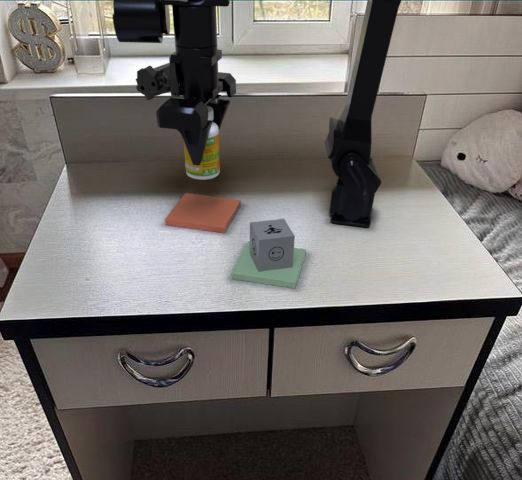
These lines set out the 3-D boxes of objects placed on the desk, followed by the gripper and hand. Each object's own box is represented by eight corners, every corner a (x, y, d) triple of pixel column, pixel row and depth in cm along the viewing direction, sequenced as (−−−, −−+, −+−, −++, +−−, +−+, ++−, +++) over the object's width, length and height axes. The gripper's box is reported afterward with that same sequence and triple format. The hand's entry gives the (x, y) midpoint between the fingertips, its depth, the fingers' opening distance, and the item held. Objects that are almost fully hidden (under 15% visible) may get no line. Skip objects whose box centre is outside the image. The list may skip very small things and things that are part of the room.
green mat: (305, 255, 79) (306, 249, 78) (295, 288, 72) (295, 282, 71) (247, 246, 80) (247, 241, 79) (232, 278, 73) (231, 272, 73)
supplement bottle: (204, 183, 80) (200, 117, 74) (178, 174, 82) (173, 109, 76) (227, 172, 83) (225, 108, 77) (201, 163, 86) (198, 100, 79)
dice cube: (258, 271, 73) (259, 240, 70) (249, 253, 77) (249, 222, 73) (292, 267, 74) (294, 235, 71) (282, 249, 78) (283, 218, 74)
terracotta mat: (240, 205, 90) (240, 200, 89) (224, 233, 83) (224, 227, 82) (185, 198, 92) (185, 192, 91) (165, 225, 84) (164, 219, 84)
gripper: (165, 26, 79) (174, 132, 89) (110, 55, 65) (129, 176, 76) (236, 31, 77) (237, 138, 87) (195, 62, 63) (202, 185, 74)
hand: (202, 157), depth 81 cm, fingers closed on supplement bottle, 5 cm apart
